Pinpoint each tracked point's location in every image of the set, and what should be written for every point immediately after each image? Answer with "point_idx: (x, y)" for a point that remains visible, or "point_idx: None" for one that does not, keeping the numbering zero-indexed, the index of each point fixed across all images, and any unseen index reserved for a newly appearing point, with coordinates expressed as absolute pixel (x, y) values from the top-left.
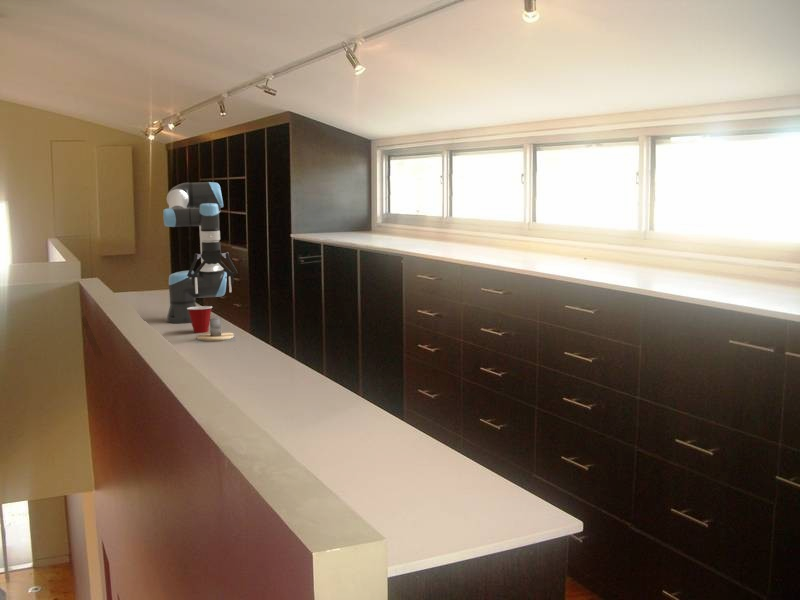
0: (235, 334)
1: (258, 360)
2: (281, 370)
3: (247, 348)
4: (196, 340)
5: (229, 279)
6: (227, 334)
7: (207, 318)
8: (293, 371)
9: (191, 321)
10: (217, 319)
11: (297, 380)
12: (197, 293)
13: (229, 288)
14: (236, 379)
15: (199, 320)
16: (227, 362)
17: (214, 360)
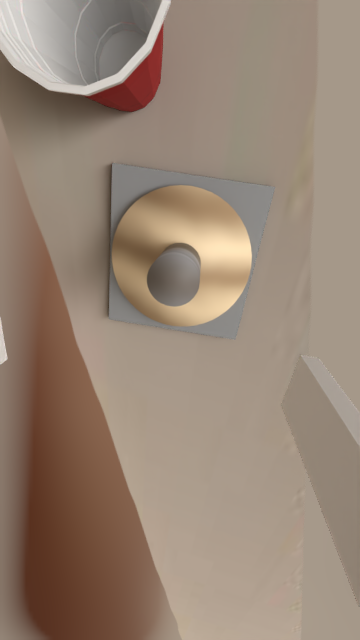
0: (263, 223)
1: (243, 499)
2: (261, 556)
3: (251, 404)
4: (111, 278)
5: (345, 550)
6: (225, 259)
7: (144, 79)
8: (277, 565)
9: (54, 45)
10: (183, 296)
11: (264, 593)
12: (4, 357)
13: (294, 434)
14: (181, 564)
15: (99, 101)
16: (181, 490)
17: (157, 469)
